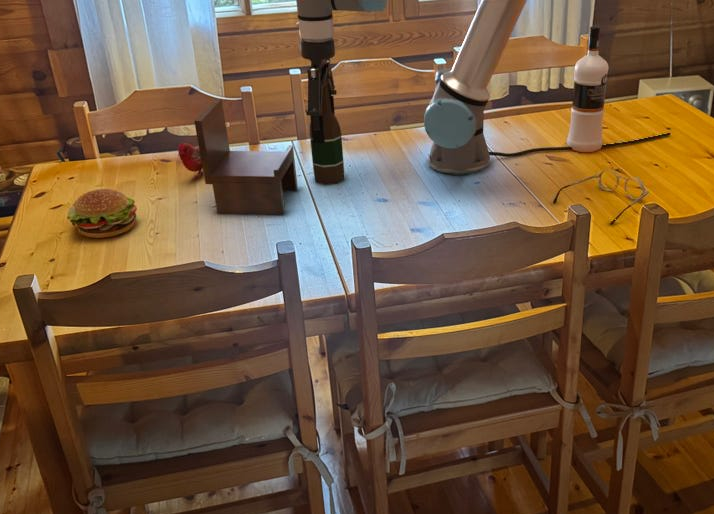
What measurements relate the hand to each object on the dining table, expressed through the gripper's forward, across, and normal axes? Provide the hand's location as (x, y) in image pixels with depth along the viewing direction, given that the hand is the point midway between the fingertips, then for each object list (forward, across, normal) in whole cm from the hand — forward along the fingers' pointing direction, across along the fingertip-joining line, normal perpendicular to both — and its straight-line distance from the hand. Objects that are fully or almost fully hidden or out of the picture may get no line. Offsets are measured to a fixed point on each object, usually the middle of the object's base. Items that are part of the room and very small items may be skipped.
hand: (324, 132), depth 191 cm
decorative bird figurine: (+12, -2, -32) cm, 34 cm away
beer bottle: (+12, 0, 0) cm, 12 cm away
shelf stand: (+12, +14, -14) cm, 22 cm away
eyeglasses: (+11, +12, +64) cm, 66 cm away
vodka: (+11, -24, +63) cm, 69 cm away
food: (+12, +29, -44) cm, 54 cm away
